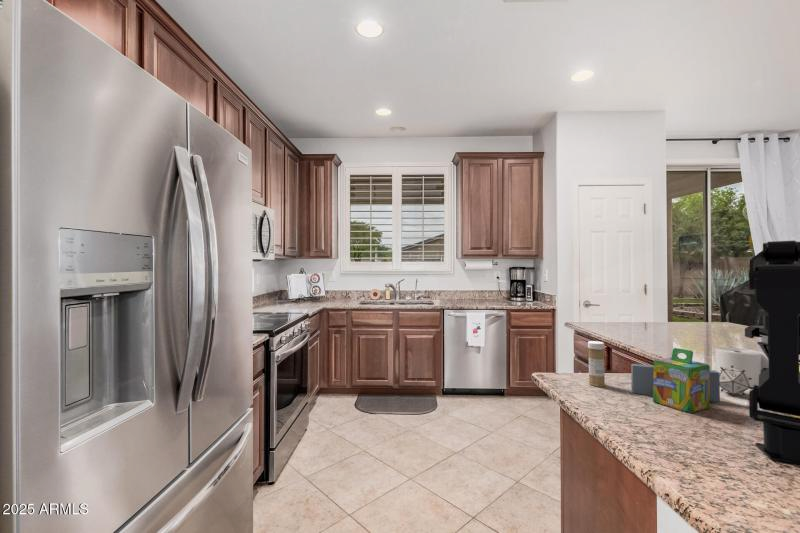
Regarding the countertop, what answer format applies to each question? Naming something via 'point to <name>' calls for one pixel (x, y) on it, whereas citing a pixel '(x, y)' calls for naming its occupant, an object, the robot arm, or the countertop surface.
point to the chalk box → (681, 382)
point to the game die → (734, 381)
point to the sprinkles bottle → (596, 363)
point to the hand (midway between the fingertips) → (782, 377)
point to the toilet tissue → (742, 362)
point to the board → (645, 377)
